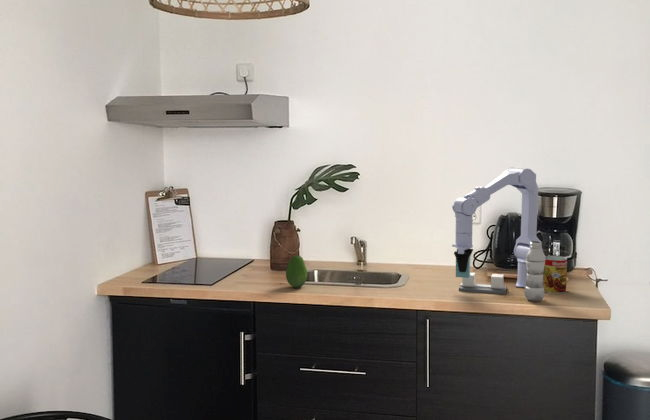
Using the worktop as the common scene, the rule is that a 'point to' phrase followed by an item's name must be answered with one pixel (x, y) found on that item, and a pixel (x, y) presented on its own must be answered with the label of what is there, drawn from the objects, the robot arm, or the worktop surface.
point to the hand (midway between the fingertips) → (463, 270)
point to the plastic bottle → (535, 272)
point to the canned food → (555, 274)
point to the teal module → (463, 274)
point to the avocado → (296, 272)
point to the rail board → (495, 286)
